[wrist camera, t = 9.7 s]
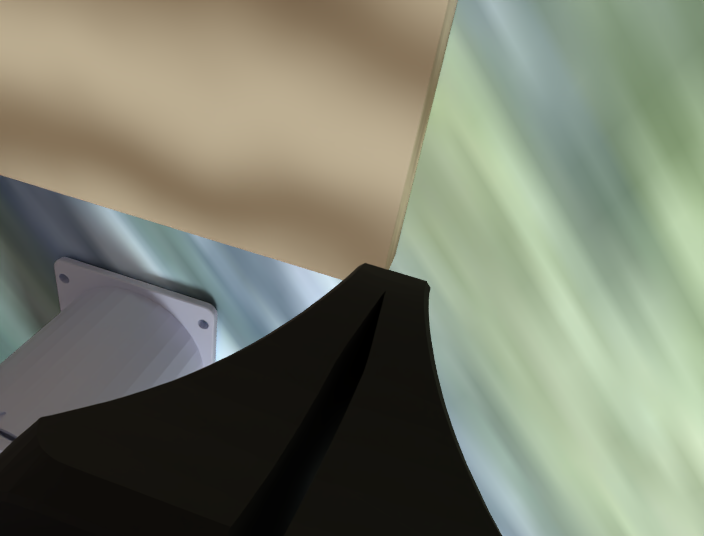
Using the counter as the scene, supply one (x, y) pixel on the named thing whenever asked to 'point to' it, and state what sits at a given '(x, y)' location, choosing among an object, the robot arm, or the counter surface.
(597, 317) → the counter surface
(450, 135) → the counter surface
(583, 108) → the counter surface
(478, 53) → the counter surface
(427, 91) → the deck
